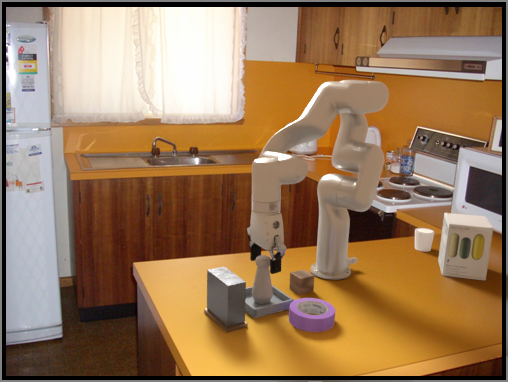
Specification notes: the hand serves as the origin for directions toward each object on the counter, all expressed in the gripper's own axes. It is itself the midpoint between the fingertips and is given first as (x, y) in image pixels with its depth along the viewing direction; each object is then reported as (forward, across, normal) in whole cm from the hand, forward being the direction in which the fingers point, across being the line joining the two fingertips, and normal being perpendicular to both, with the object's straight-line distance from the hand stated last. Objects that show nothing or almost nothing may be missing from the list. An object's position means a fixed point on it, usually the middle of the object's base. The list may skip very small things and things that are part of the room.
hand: (265, 266), depth 140 cm
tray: (+11, 0, +1) cm, 11 cm away
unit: (+10, -3, +14) cm, 18 cm away
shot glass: (+14, +9, -74) cm, 75 cm away
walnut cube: (+11, +2, -14) cm, 18 cm away
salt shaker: (+10, 0, +1) cm, 10 cm away
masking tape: (+11, -14, -5) cm, 19 cm away
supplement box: (+14, -11, -69) cm, 71 cm away
